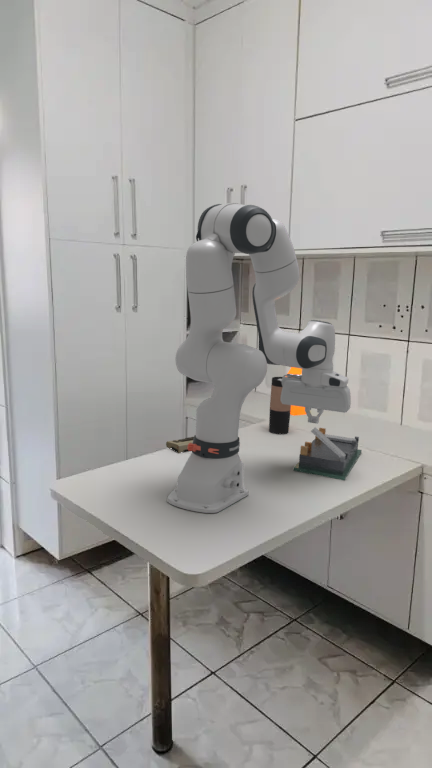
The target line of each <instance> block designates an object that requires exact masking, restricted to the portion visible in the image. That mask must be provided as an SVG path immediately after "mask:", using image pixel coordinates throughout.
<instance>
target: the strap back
mask: <svg viewBox="0 0 432 768" xmlns="http://www.w3.org/2000/svg"><path fill="white" fill-rule="evenodd" d="M323 435H325V436H326V437H327V438H328V439H329V440H334V441H341V442H347V443H352V440H356V439H355V437H354V438H352V437H346V436H339V435H334V434H333V435H332V434H327V433H325V434H323Z"/></svg>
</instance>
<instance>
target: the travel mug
mask: <svg viewBox="0 0 432 768" xmlns="http://www.w3.org/2000/svg"><path fill="white" fill-rule="evenodd" d="M282 377H283V376H274V377H272V378H271V387H270V389H271V390H270V399H269V400H270V401H269V421H268V423H269V424H268V432H270V433H272V434H275V435H286V434H288V433H289V429H290V418H291V414H290V412H291V405H286V404H282V402H281V400H280V399H281V392H282V388H283V386H282Z"/></svg>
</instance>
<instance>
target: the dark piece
mask: <svg viewBox="0 0 432 768" xmlns="http://www.w3.org/2000/svg"><path fill="white" fill-rule="evenodd" d="M318 430H319V431H320V432H321V433H322V434H326V433H327V432H326V431H327V428H325V427H319V428H318ZM314 436H315V435H314ZM354 439H356V440H352V443H347V442H341V441H334V440H330V441H331V442H332V443H334V444H335V445H336V446H337V447H338V448H339V449H340V450H341V451H343V452H344V453H345V454H346V456H345V457H344V456H341V458H340V457H339V456H338V455H337V454H336V453H335V452H333V451H332V450H331V449H330V448H329V447H328V446H327V445H326V444H324V443H323V442H322V441H321V440H320V439H319V438H318V437H317V436H315V438H314V440H312V441H305V442H304V445H301V446H300V449H299V450H300V451H299V453H300V454H299V459H298V462H297V463H296V464H295V465H294V466H293V471H294V472H298V473H303V474H310V475H315V476H321V477H325V478H330V479H336V480H339V481H346V478H347V477H348V476H349V474H350V472H351V471H352V469H353V468H354V466H355V464H356V463H357V461H358V459H359V458H360V456H361V454H362V449H359V448H358V447H359V441H360V436H354ZM293 471H292V472H293Z"/></svg>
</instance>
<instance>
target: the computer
mask: <svg viewBox="0 0 432 768" xmlns="http://www.w3.org/2000/svg"><path fill="white" fill-rule="evenodd" d="M193 439H194V436H190V437H185V438H181V439H173V440H169V441H166V443H165V446H166V448H168V449H170V448H172V449H174V450H175V451H174V450H173V451H174V452H176V451H177V452H178V453H177V452H176V453H177V454H181V452H183V451H184V452H188V451H187V450H188V448H187V447H188V444H189V443H192V442H193ZM172 449H171V450H172ZM184 452H183V453H184Z"/></svg>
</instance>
